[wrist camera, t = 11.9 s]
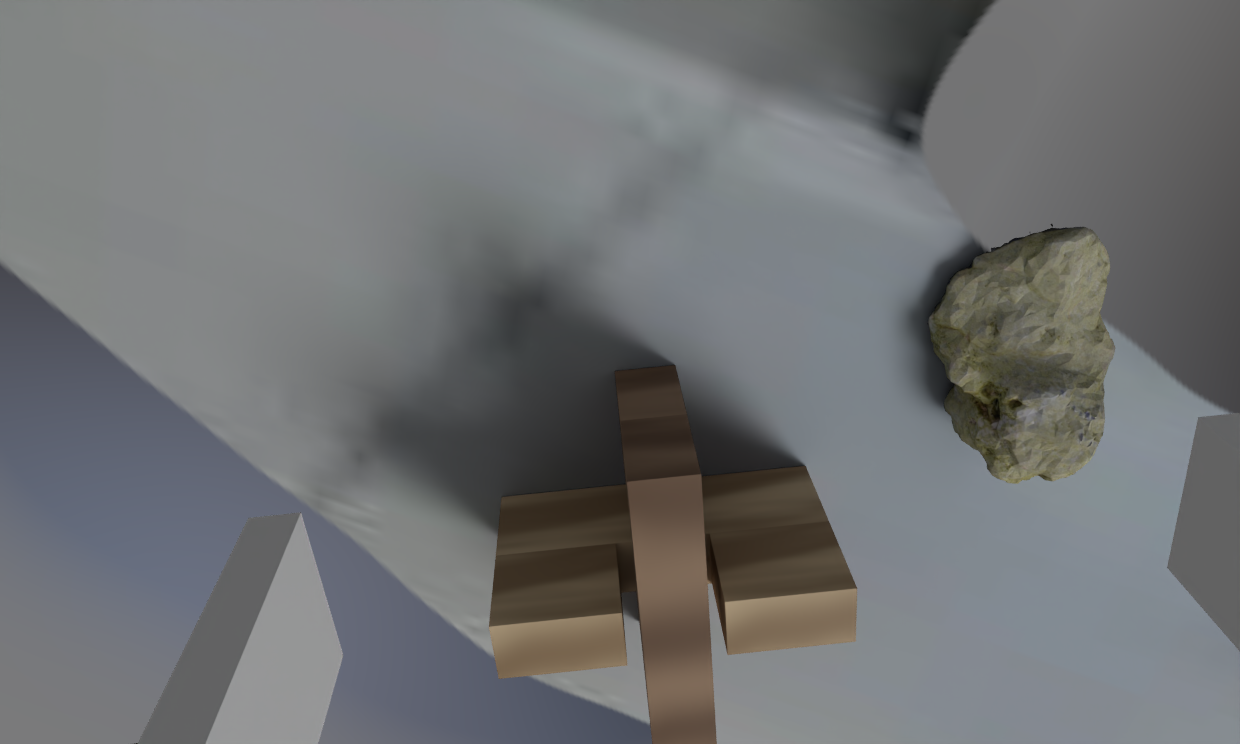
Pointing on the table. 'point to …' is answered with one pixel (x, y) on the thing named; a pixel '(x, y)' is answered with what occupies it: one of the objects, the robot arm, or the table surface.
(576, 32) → the table surface
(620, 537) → the oak board
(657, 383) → the walnut plate
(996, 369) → the rock
